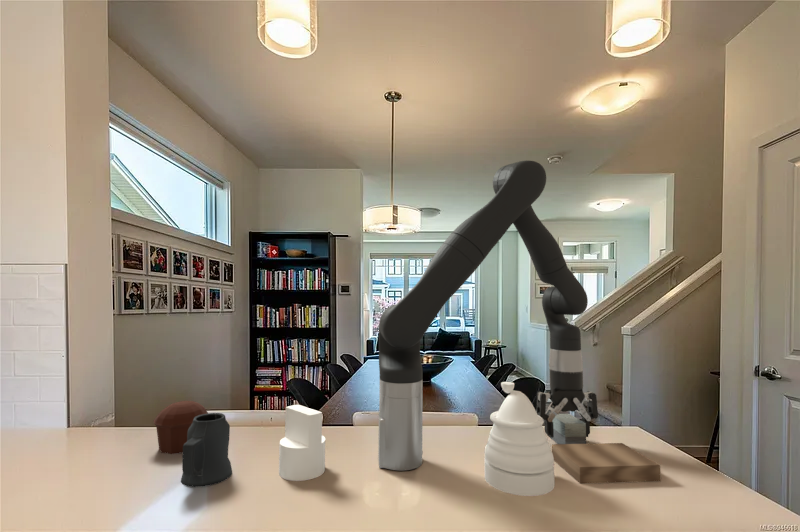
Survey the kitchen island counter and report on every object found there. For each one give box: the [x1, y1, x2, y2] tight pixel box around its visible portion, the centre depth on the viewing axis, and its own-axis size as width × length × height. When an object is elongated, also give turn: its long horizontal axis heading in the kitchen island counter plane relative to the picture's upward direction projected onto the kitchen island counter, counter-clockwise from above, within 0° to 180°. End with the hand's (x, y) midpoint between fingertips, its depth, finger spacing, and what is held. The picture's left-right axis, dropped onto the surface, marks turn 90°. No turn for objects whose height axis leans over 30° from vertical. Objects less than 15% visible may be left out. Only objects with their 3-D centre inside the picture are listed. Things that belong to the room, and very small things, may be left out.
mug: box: [180, 412, 233, 488], centre depth 79 cm, size 12×9×11 cm
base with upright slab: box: [278, 404, 326, 482], centre depth 83 cm, size 9×9×12 cm
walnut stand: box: [551, 442, 662, 484], centre depth 84 cm, size 16×12×3 cm
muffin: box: [153, 400, 208, 455], centre depth 96 cm, size 12×11×10 cm
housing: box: [550, 413, 587, 444], centre depth 99 cm, size 5×8×6 cm, turn 4°
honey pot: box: [483, 381, 555, 497], centre depth 80 cm, size 13×13×18 cm
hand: (567, 436), depth 99 cm, fingers open, 8 cm apart
